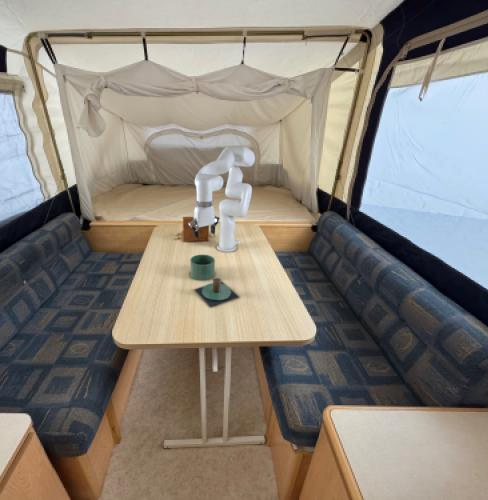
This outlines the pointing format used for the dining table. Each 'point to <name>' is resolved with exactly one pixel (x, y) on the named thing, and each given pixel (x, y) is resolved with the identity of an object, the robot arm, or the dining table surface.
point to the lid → (216, 290)
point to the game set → (189, 232)
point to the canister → (202, 267)
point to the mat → (216, 302)
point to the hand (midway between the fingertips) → (204, 235)
